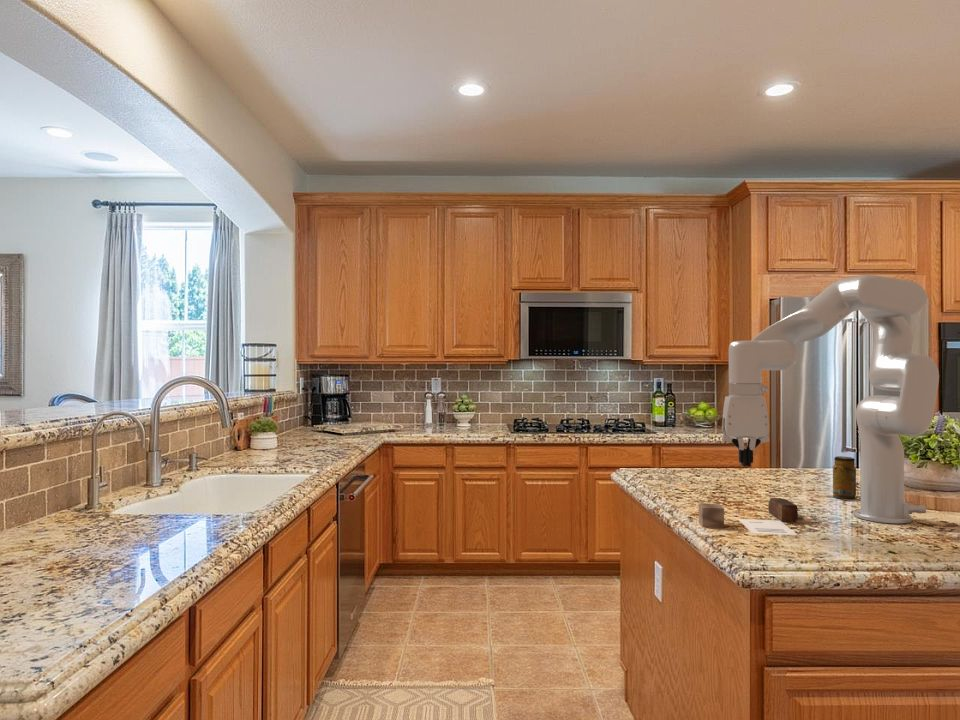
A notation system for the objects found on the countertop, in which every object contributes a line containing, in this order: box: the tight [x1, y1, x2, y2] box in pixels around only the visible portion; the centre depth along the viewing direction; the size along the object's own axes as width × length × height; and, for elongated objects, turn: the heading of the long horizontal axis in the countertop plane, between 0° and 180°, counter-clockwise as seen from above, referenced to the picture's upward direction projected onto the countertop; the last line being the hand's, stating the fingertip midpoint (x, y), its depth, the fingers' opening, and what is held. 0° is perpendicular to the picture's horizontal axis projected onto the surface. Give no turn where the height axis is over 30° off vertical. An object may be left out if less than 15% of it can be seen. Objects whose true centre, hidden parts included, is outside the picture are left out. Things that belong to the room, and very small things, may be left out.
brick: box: [767, 497, 799, 523], centre depth 163 cm, size 11×4×5 cm, turn 173°
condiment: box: [826, 455, 861, 502], centre depth 189 cm, size 7×8×12 cm
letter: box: [738, 518, 798, 536], centre depth 154 cm, size 10×14×1 cm
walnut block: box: [698, 502, 725, 529], centre depth 155 cm, size 5×5×5 cm
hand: (745, 465), depth 155 cm, fingers closed
